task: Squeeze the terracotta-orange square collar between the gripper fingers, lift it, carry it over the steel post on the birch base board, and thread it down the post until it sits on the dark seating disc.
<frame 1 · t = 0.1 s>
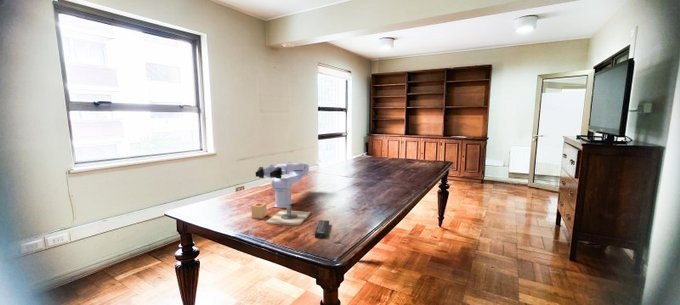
hand: (263, 174, 137), 22 cm above the table, tool horizontal, fingers open, 7 cm apart
collar: (259, 216, 142), on the table
multiport hub: (322, 232, 123), on the table
post board: (289, 218, 138), on the table
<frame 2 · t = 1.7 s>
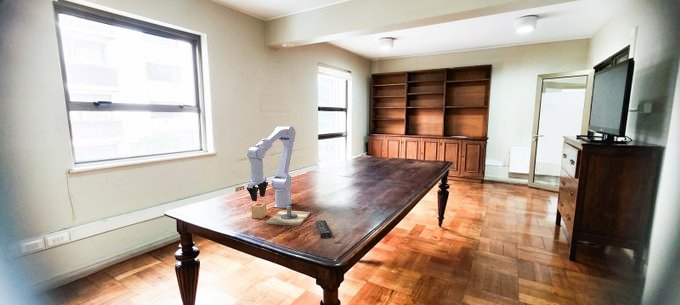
hand: (258, 198, 141), 9 cm above the table, tool pointing down, fingers open, 7 cm apart
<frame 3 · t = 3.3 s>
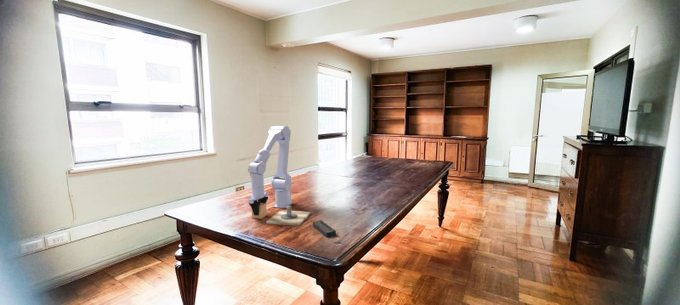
hand: (259, 213, 142), 2 cm above the table, tool pointing down, fingers closed on collar, 5 cm apart
collar: (259, 216, 142), on the table, touching gripper
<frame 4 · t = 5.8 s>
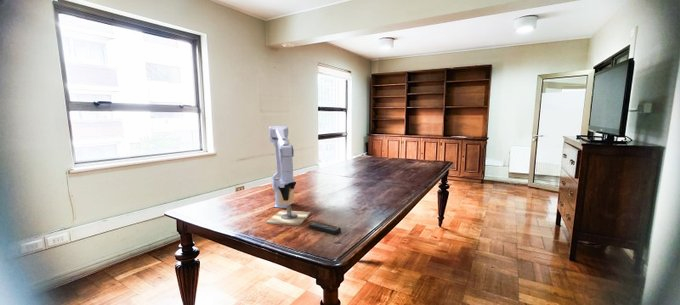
hand: (288, 198, 137), 10 cm above the table, tool pointing down, fingers closed on collar, 5 cm apart
collar: (287, 202, 137), point 8 cm above the table, touching gripper
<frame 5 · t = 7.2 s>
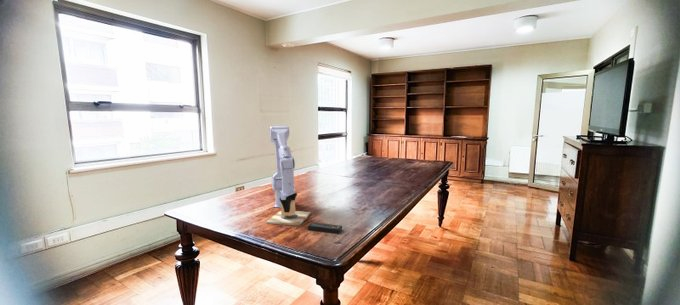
hand: (289, 210, 138), 4 cm above the table, tool pointing down, fingers closed on collar, 5 cm apart
collar: (288, 213, 138), point 2 cm above the table, touching gripper
when the fingers open (4 cm above the table, at t = 8.5 s): collar drops 1 cm, resting on post board.
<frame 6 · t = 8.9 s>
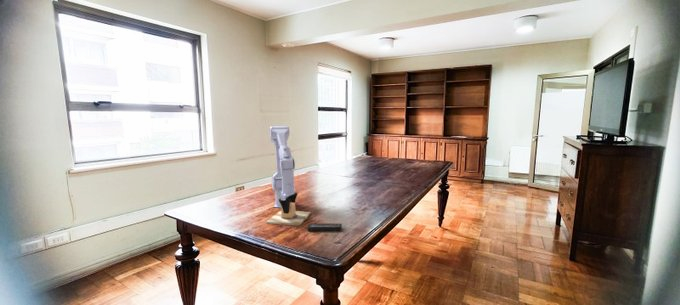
hand: (289, 210, 138), 4 cm above the table, tool pointing down, fingers open, 7 cm apart
collar: (288, 216, 138), point 1 cm above the table, touching post board
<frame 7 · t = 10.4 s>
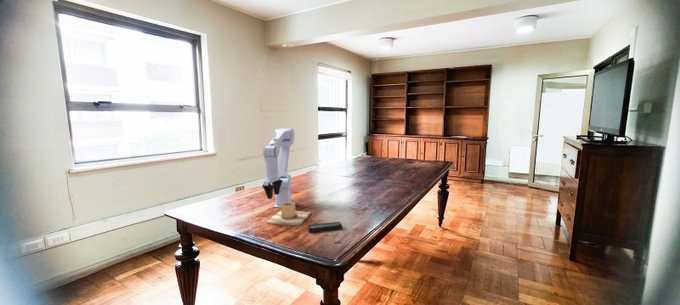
hand: (273, 196, 143), 9 cm above the table, tool pointing down, fingers open, 7 cm apart
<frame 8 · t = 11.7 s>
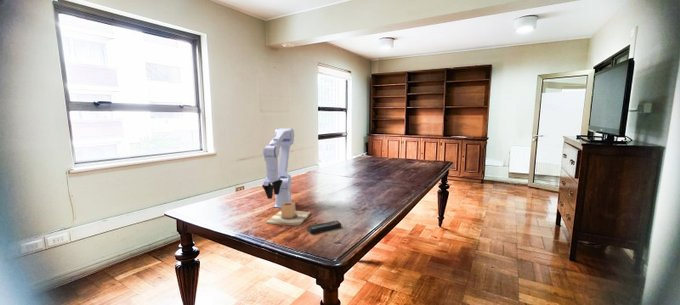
hand: (273, 196, 143), 9 cm above the table, tool pointing down, fingers open, 7 cm apart
at the end: collar 0.3 cm from the post board (horizontally); collar point 1.2 cm above the table; collar tilted 0° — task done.
